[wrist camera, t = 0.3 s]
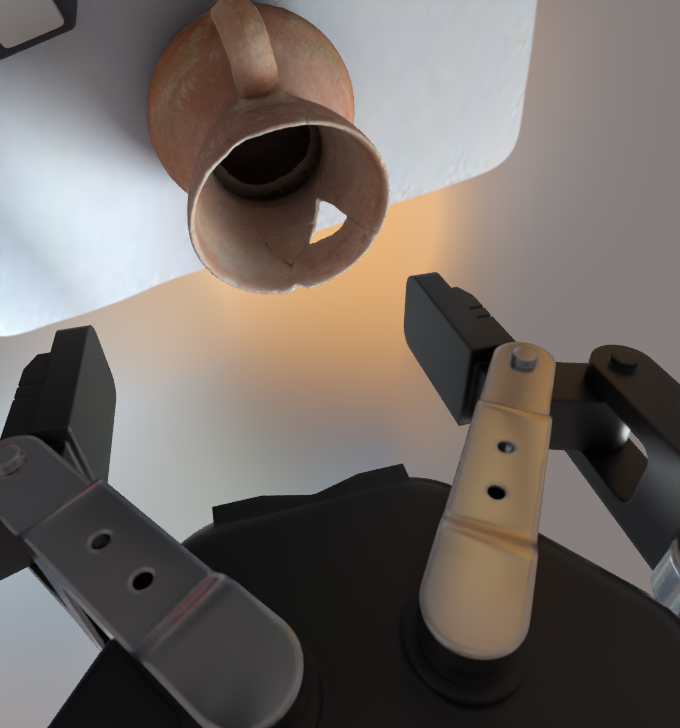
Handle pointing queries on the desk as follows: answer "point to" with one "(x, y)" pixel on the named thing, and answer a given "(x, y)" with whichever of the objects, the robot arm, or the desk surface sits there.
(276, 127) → the ceramic jug
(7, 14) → the calculator
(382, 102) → the desk surface
